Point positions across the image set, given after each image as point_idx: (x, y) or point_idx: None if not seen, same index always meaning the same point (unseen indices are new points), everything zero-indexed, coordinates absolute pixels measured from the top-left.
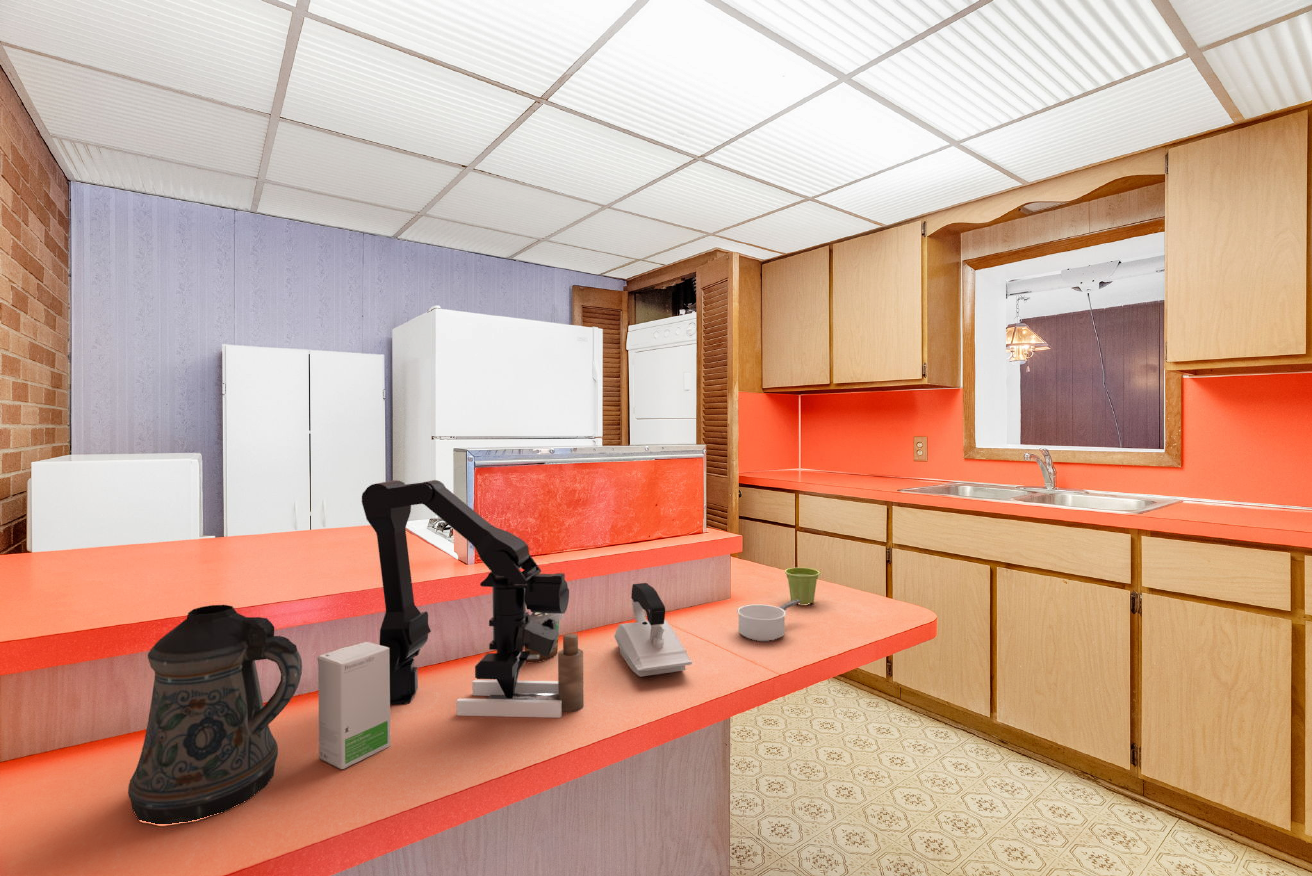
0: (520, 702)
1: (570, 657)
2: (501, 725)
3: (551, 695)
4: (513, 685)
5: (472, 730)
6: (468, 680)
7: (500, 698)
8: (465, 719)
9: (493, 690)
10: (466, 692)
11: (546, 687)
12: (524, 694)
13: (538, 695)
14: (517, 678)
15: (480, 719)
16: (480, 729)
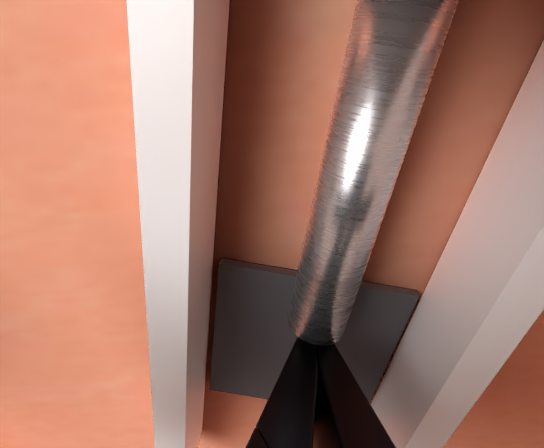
0: (535, 315)
1: None
2: (539, 329)
3: (426, 51)
4: (379, 421)
5: (525, 417)
6: (75, 444)
7: (250, 355)
8: None
9: (198, 397)
10: None
11: (205, 123)
12: (348, 287)
13: (383, 184)
14: (276, 416)
15: None
16: (532, 396)
